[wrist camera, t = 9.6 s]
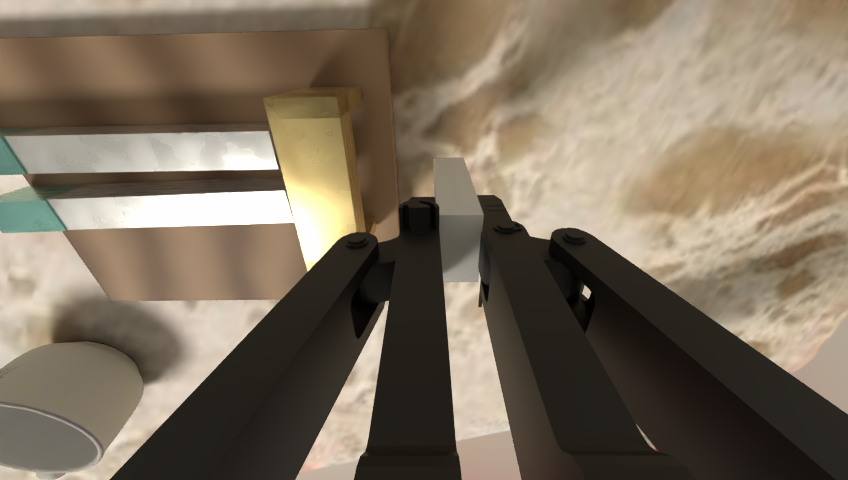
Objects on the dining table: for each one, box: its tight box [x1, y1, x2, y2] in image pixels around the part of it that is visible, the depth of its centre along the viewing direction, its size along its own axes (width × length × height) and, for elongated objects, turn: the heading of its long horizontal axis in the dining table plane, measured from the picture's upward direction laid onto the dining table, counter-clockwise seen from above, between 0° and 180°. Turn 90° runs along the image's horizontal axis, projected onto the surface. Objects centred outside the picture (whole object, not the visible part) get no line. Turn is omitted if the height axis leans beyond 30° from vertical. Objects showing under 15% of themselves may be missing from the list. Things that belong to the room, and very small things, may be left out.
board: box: [0, 29, 400, 301], centre depth 21 cm, size 24×18×2 cm
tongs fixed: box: [0, 123, 281, 175], centre depth 18 cm, size 21×4×3 cm, turn 91°
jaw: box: [0, 177, 294, 233], centre depth 19 cm, size 18×2×3 cm, turn 92°
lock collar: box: [263, 86, 376, 271], centre depth 17 cm, size 3×9×5 cm, turn 1°
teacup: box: [0, 342, 143, 480], centre depth 29 cm, size 14×11×8 cm
